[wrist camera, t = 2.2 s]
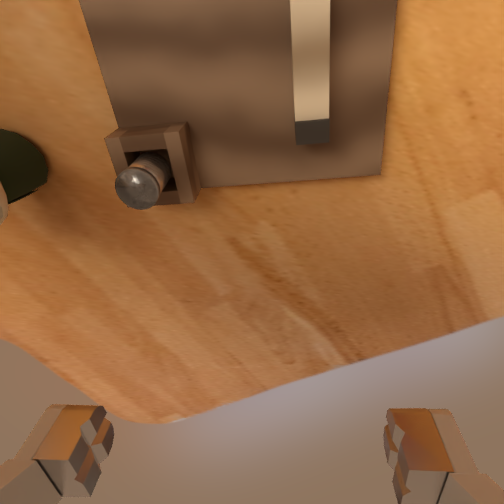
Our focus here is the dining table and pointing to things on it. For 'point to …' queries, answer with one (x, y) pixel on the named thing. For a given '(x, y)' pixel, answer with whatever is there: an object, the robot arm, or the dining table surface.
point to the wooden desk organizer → (238, 89)
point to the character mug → (18, 170)
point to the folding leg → (310, 69)
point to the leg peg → (143, 181)
